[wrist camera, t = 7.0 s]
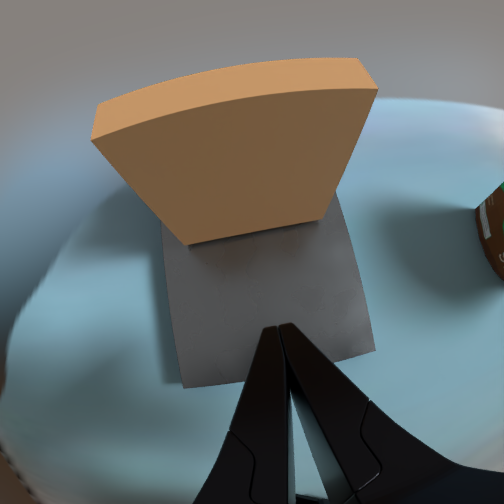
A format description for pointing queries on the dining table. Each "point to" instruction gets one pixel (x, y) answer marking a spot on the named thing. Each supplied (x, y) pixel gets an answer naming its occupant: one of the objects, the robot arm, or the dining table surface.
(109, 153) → the tan trapezoid block
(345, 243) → the bearing base
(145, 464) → the dining table surface
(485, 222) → the food container
